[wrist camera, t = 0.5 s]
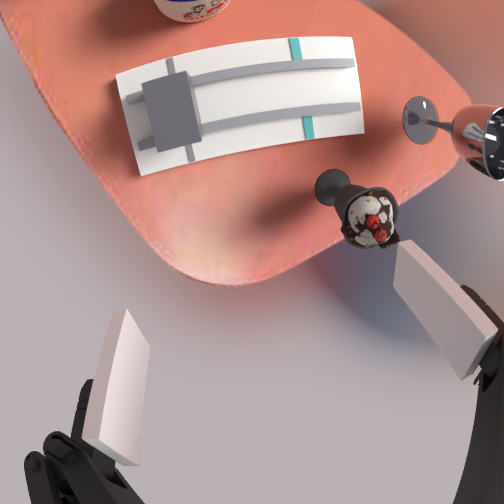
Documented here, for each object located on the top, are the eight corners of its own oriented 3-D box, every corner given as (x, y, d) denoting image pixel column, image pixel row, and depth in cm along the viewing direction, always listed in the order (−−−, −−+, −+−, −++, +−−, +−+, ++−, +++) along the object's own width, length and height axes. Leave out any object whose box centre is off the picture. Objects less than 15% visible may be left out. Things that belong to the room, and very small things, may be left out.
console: (120, 76, 25) (111, 73, 22) (344, 39, 26) (357, 35, 23) (144, 172, 31) (138, 179, 28) (356, 131, 32) (370, 135, 29)
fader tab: (157, 87, 25) (141, 83, 18) (191, 78, 25) (186, 70, 18) (170, 140, 28) (157, 152, 21) (203, 132, 28) (201, 141, 21)
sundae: (303, 169, 34) (361, 217, 21) (352, 158, 34) (427, 198, 21) (312, 217, 37) (364, 284, 24) (358, 204, 37) (423, 262, 24)
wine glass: (417, 158, 35) (495, 195, 22) (391, 113, 31) (475, 135, 18) (447, 127, 33) (524, 153, 20) (424, 83, 29) (508, 94, 16)
